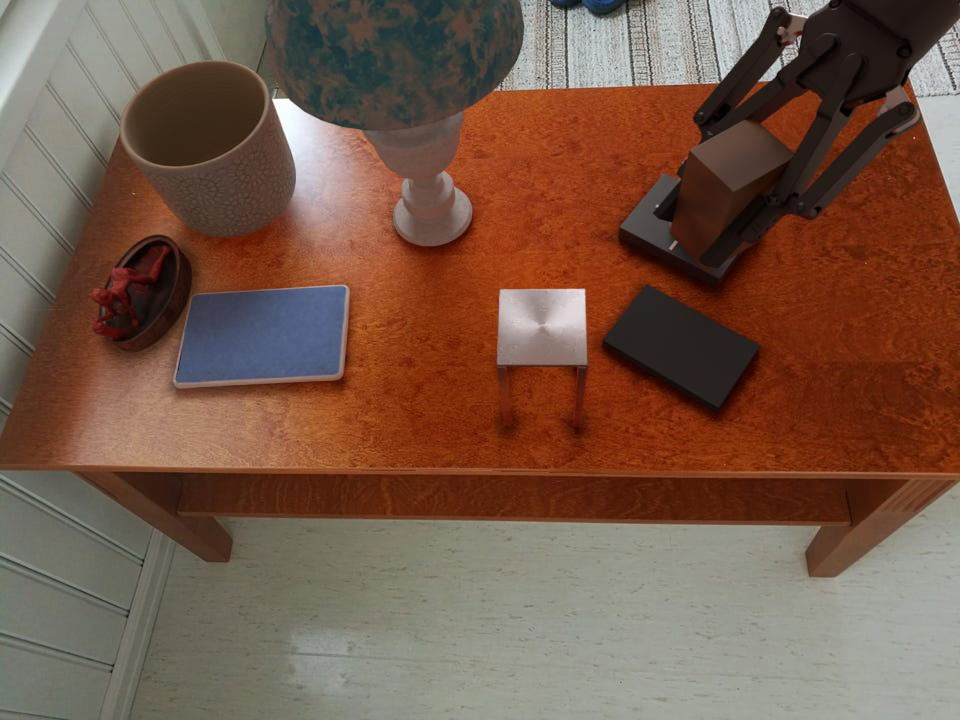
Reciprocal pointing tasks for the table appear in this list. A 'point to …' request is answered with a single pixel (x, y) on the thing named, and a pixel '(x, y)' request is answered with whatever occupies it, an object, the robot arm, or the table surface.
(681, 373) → the mat
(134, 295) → the figurine
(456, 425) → the table surface
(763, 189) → the block
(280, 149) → the planter
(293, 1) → the table lamp
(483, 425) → the table surface
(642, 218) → the panel
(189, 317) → the tablet
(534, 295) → the square metal stool
